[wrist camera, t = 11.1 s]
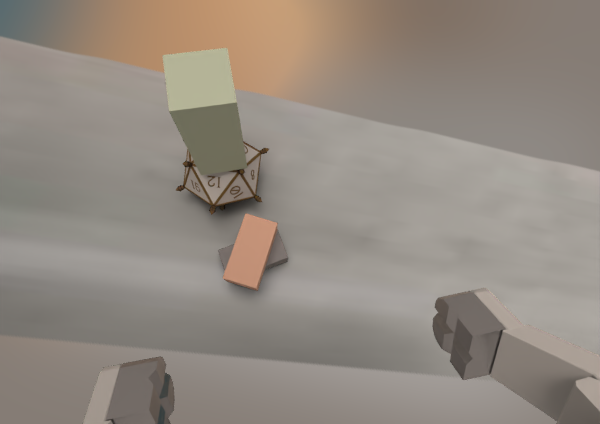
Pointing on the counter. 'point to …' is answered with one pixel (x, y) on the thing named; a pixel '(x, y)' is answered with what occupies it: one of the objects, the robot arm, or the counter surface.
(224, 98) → the green block
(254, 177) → the game die
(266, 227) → the terracotta brick
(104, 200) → the counter surface
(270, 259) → the charcoal brick
